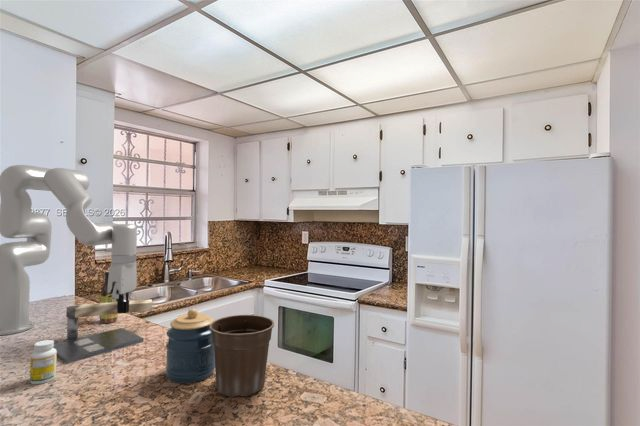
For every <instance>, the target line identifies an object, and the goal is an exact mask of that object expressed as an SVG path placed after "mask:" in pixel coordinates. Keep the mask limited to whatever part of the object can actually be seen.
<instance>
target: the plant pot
mask: <svg viewBox="0 0 640 426" xmlns="http://www.w3.org/2000/svg"><path fill="white" fill-rule="evenodd" d="M274 327H275V321H274V320H273V319H271V318H270V317H267V316H262V315H257V314H235V315H230V316H229V315H228V316H224V317H220V318H217V319H215V320H214V321H213V322H212V323H211V324H210V330H211V331H212V342H213V344H214V353H215V370H214V372H215V384H216V385H215V387H216V388H215V389H216V390H217V392H218V393H219V394H222V395H223V396H225V397H227V396H228V397H232V398H235V397H236V396H241V397H247V396H250V395H251V394H252V395H254V394H256V393H258V392H260V391H261V390H262V389H264V386H265V382H266V373H267V364H268V363H267V362H268V355H269V347H270V341H271V339H272V331H273V328H274Z"/></svg>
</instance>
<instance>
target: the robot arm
mask: <svg viewBox="0 0 640 426" xmlns="http://www.w3.org/2000/svg"><path fill="white" fill-rule="evenodd" d="M89 186H90V179H89V177H88V176H87V175H86V174H85V173H84V172H82V171H81V170H76V169H70V168H65V167H64V168H63V167H53V168H48V167H40V166H34V165H26V164H16V165H10V166H8V167H6V168H5V169H4V170H3V171H1V173H0V235H1V236H2V237H3V238H6V239H26V241H25V240H24V241H23V240H21V241H11V242H5V243H2V244H0V336H5V335H13V334H17V333H21V332H25V330H26V331H29V330H31V329H32V328H33V327H34V326H35V323H34V322H33V321H31V320H30V290H31V289H30V288H31V287H30V282H31V281H30V277H29V273H28V272H27V271H26V270H25V268H26V267H33V266H38V265H39V266H40V265H41V264H43V263H45V262H47V260H48V259H49V257H50V253H51V244H52V242H51V241H52V228H53V227H52V222H51V220H50V218H49V217H48V216H47V215H46V214H45V213H42V212H36V211H35V212H34V211H33V212H32V204H33V203H32V199H31V196H30V194H29V193H28V191H27V190H32V191H33V190H34V191H44V192H45V191H46V192H51V193H52V194H53V195H54V197H56V199H57V200H58V201H59V202H60V203H61V205H62V206H63V208H65V210H66V212H65V220H66V221H65V222H66V226H67V228H68V230H69V231H70V233H72V235H73V236H74V237H75V238H76V239H77V240H78V241H79V242H80V243H81V244H83V245H85V246H88V247H89V246H90V247H92V246H93V247H94V246H95V247H96V246H103V245H111V264H110V267H109V270H108V271H109V277H108V294H112V299H116V301H117V313H121V314H128V313H127V312H129V301H131V296H132V294H133V293H134V291H135V289H137V285H138V283H137V282H138V274H137V273H138V271H137V249H138V248H137V244H138V243H137V240H138V238H137V236H138V228H137V225H135V224H133V223H131V224H130V223H114V222H97V223H96V222H95V223H94V222H92V221H91V220H90V219H89V217H88V216H87V215H86V213H85V212H84V211H85V209H87V208H89V206H90V205H91V204H92V200H93V198H92V196H91V195H90V194H89V193H88V192H87V190H88V189H89ZM30 328H31V329H30ZM28 329H29V330H28Z"/></svg>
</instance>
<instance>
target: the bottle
mask: <svg viewBox="0 0 640 426" xmlns="http://www.w3.org/2000/svg"><path fill="white" fill-rule="evenodd" d="M104 276H105V277H104V284H103V285H102V287H101V289H100V300H99V301H100V302H99V303H110V302H117V301H116V299H112V294H108V277H109V270H106V271H104ZM118 317H119V314H110V315H99V317H98V318H99V322H100V323H101V324H111V323H115V322H117V321H118Z"/></svg>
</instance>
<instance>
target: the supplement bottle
mask: <svg viewBox="0 0 640 426" xmlns="http://www.w3.org/2000/svg"><path fill="white" fill-rule="evenodd" d="M54 344H55V341H54V340H52V339H45V340H41V341H37V342H35V343H34V345H33V349H34V351H33V352H32V353H31V354H30V367H29V370H30V371H29V373H30V374H29V382H30V383H31V384H32V385H41V384H46V383H49V382H51V381H53V380H54V379H55V378H56V377H57V360H58V359H57V358H58V357H57V350H56V349H55V348H53V346H54Z"/></svg>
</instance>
